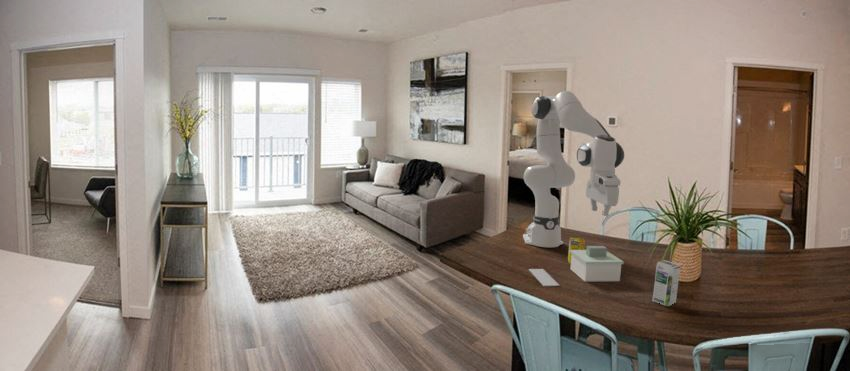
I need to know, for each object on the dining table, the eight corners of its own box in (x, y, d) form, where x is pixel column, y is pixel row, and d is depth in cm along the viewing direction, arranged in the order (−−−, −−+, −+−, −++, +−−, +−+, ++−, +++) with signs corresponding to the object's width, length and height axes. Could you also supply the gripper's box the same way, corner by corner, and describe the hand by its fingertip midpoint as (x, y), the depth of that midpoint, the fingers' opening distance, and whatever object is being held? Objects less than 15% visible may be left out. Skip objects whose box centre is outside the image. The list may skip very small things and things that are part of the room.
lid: (569, 254, 197) (570, 241, 196) (604, 254, 198) (606, 241, 197) (585, 266, 182) (586, 253, 181) (623, 266, 184) (624, 252, 183)
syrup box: (651, 301, 169) (656, 261, 166) (660, 297, 172) (665, 259, 170) (667, 307, 164) (672, 266, 162) (676, 303, 168) (681, 263, 165)
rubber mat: (528, 269, 198) (528, 269, 197) (565, 269, 199) (566, 268, 199) (543, 286, 180) (543, 285, 180) (584, 285, 182) (584, 284, 182)
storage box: (570, 271, 197) (571, 252, 196) (602, 271, 199) (604, 252, 197) (584, 283, 184) (586, 263, 182) (619, 283, 185) (621, 263, 184)
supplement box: (583, 266, 203) (585, 242, 202) (568, 265, 205) (570, 240, 203) (581, 262, 209) (583, 238, 207) (567, 261, 210) (569, 237, 208)
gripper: (583, 174, 195) (580, 207, 197) (606, 181, 175) (603, 218, 177) (598, 174, 195) (595, 207, 197) (623, 181, 175) (619, 218, 177)
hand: (599, 213), depth 187 cm, fingers open, 8 cm apart
